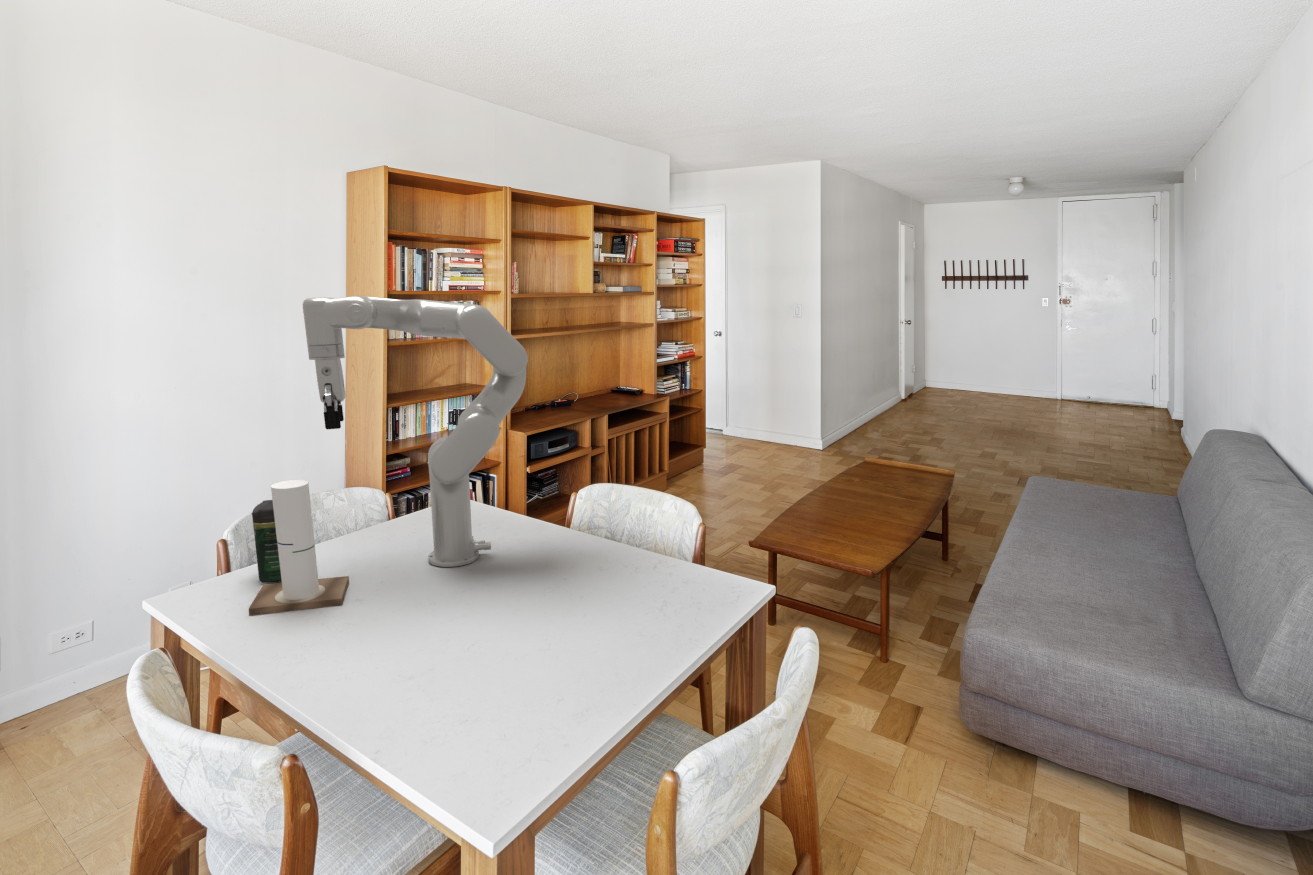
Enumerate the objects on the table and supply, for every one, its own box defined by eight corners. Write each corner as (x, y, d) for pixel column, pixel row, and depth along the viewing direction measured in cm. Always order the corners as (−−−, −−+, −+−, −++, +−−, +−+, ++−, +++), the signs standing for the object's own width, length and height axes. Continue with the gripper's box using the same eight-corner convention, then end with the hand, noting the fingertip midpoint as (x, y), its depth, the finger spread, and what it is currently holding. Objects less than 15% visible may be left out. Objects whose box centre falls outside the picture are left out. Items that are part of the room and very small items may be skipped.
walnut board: (349, 581, 164) (348, 575, 164) (341, 604, 152) (341, 598, 152) (263, 590, 159) (263, 584, 159) (249, 615, 147) (248, 608, 147)
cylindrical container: (291, 586, 158) (279, 480, 153) (324, 585, 158) (313, 479, 153) (277, 600, 151) (264, 489, 146) (311, 599, 151) (300, 488, 146)
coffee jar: (295, 581, 165) (287, 506, 161) (257, 586, 162) (248, 510, 158) (298, 566, 173) (290, 495, 170) (262, 571, 170) (253, 498, 166)
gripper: (341, 354, 154) (350, 430, 158) (346, 348, 170) (354, 417, 173) (303, 356, 151) (313, 433, 155) (312, 350, 167) (321, 420, 171)
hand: (335, 425), depth 164 cm, fingers open, 9 cm apart
